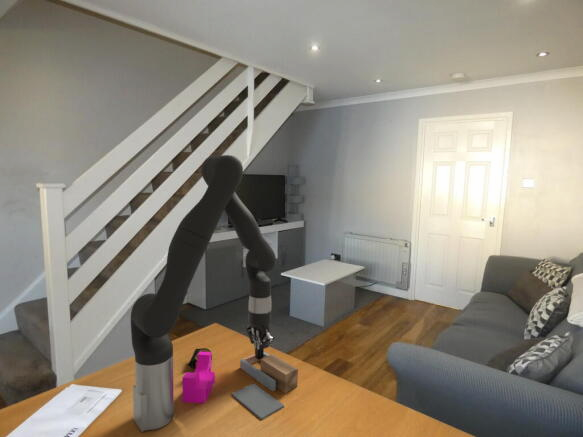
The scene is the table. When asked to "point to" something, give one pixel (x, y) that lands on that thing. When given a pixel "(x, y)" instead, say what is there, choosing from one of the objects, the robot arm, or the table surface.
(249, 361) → the channel
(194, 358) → the tape measure
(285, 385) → the block
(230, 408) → the table surface
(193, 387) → the toy block
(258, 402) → the mat
